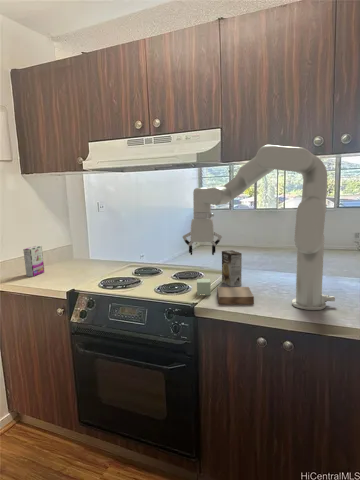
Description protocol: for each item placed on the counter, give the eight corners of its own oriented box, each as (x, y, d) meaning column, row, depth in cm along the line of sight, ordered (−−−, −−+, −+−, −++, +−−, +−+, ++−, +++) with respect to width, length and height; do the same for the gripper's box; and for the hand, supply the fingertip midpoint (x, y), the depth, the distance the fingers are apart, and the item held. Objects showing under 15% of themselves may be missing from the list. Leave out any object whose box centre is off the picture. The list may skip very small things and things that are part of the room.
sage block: (210, 291, 151) (210, 278, 151) (210, 295, 145) (210, 282, 145) (197, 291, 152) (196, 278, 151) (197, 295, 146) (196, 282, 145)
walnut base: (248, 293, 146) (248, 286, 146) (253, 303, 133) (253, 296, 132) (217, 293, 147) (217, 287, 147) (219, 304, 133) (219, 297, 133)
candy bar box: (37, 272, 200) (34, 245, 198) (44, 272, 199) (42, 245, 197) (25, 276, 189) (22, 248, 187) (33, 277, 188) (30, 248, 186)
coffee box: (221, 282, 166) (221, 250, 163) (232, 280, 168) (232, 249, 166) (230, 286, 157) (230, 253, 155) (242, 285, 159) (242, 252, 157)
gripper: (221, 215, 147) (221, 252, 149) (182, 215, 148) (183, 252, 150) (222, 216, 139) (222, 256, 142) (181, 217, 140) (182, 256, 143)
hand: (202, 254), depth 146 cm, fingers open, 9 cm apart
